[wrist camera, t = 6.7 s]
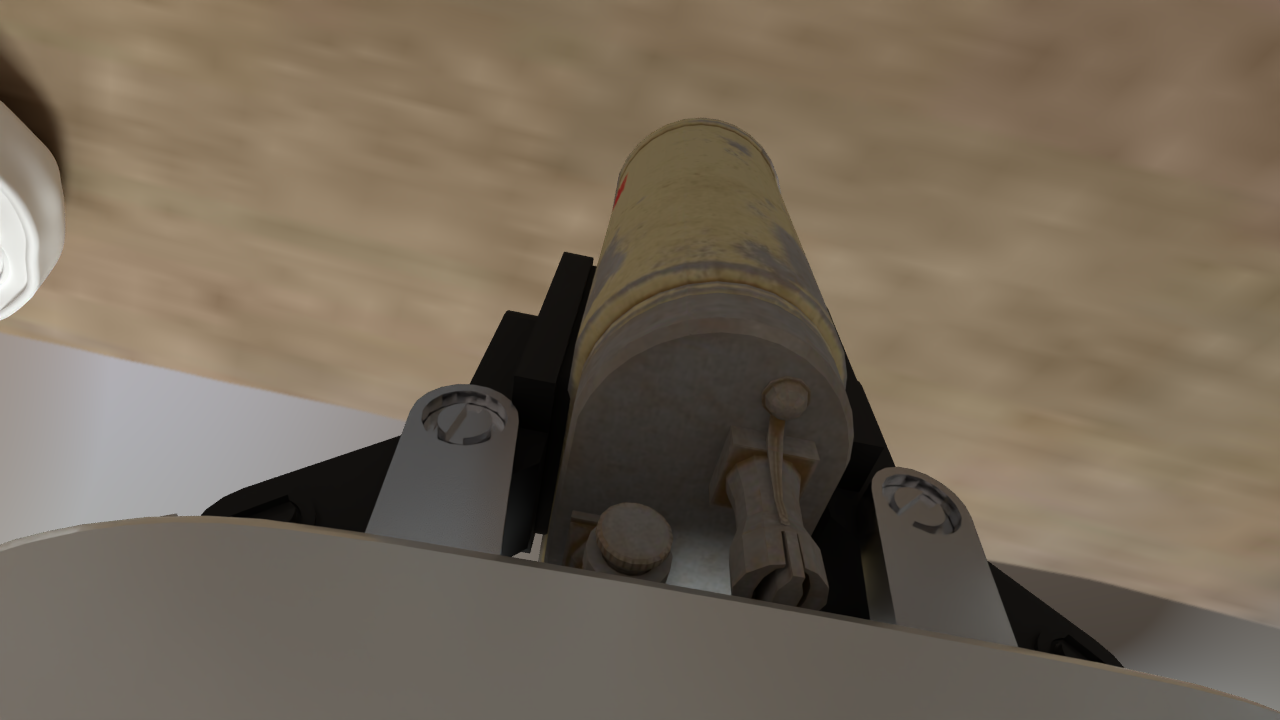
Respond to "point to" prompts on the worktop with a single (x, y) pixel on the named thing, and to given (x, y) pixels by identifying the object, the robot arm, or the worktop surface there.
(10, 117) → the cell model
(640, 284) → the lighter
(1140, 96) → the worktop surface
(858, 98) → the worktop surface
